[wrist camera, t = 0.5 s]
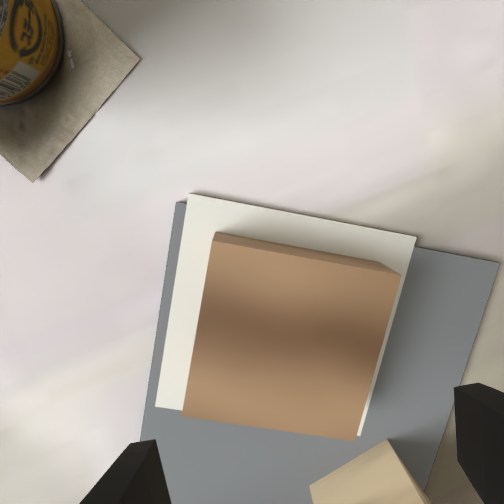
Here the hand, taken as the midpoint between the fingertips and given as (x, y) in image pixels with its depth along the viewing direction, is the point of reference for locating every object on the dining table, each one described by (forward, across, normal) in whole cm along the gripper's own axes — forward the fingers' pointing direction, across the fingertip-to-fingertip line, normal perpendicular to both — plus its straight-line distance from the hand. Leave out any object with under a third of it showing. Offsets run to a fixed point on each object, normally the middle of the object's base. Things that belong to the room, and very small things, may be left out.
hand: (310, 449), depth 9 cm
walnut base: (+10, 0, +1) cm, 10 cm away
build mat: (+10, -1, +5) cm, 11 cm away
